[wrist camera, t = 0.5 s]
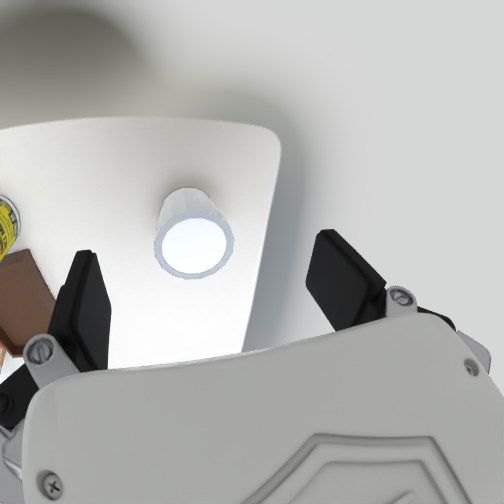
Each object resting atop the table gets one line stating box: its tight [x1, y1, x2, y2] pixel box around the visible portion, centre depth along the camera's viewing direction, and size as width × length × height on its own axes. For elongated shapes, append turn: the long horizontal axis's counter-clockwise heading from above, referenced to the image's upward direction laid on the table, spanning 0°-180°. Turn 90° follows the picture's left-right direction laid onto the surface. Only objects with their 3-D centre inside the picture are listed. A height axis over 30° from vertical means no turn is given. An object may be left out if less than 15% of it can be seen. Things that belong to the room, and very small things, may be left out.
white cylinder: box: [154, 188, 234, 279], centre depth 26 cm, size 7×7×7 cm
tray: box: [0, 249, 56, 358], centre depth 26 cm, size 16×14×2 cm
